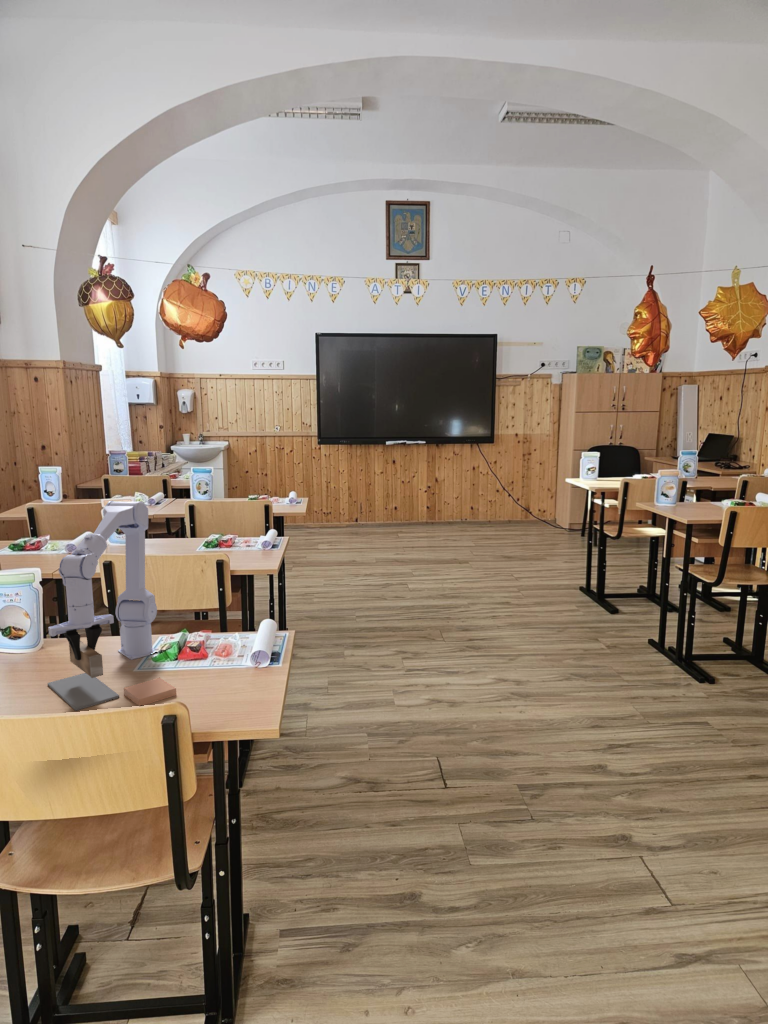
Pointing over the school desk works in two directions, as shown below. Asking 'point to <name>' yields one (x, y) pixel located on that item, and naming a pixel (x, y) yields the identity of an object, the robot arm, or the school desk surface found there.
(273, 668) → the school desk surface
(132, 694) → the tile
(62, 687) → the mat
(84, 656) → the brown block
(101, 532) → the robot arm
